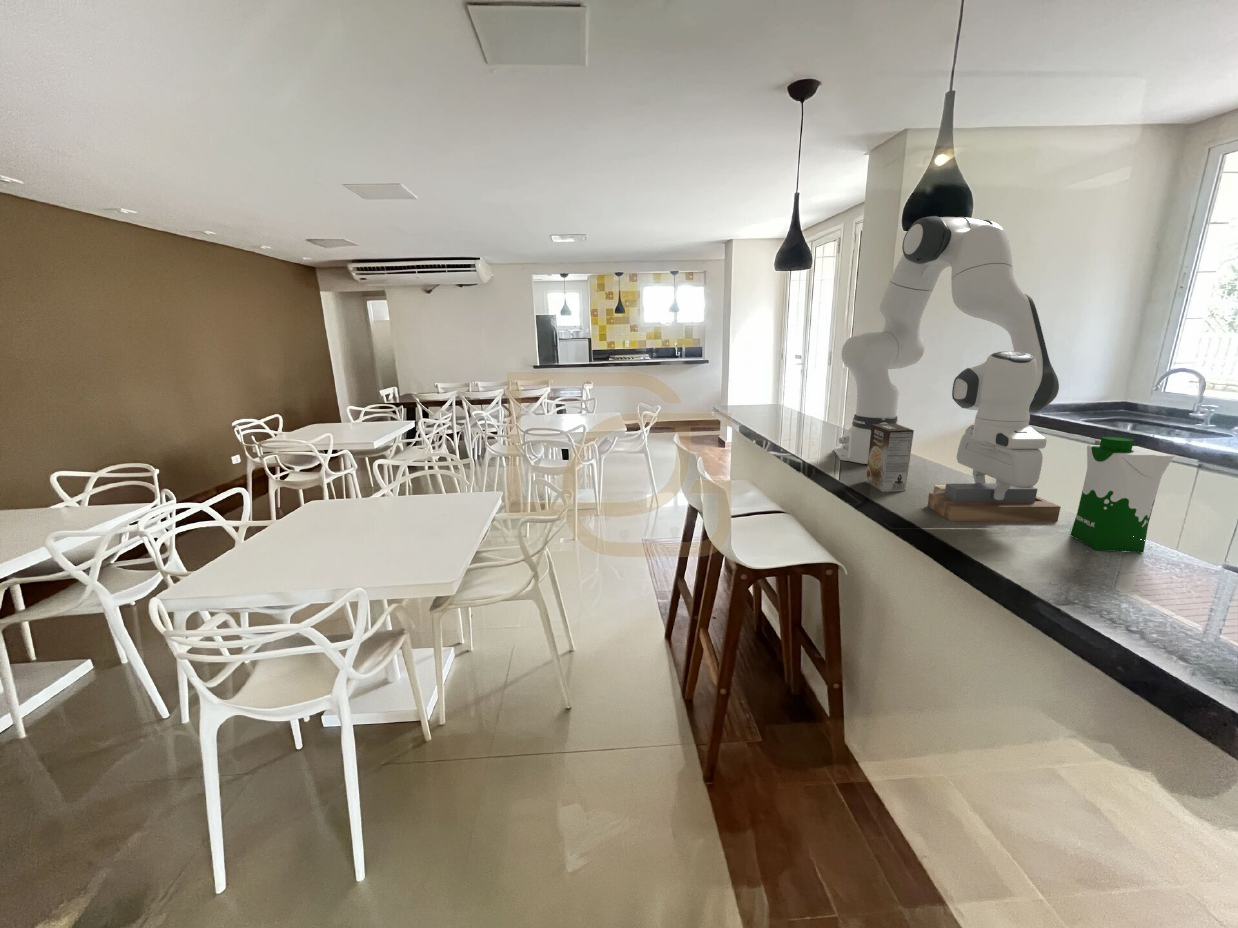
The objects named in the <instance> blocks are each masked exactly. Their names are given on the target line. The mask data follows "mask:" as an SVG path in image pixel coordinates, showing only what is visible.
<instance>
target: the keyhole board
mask: <svg viewBox="0 0 1238 928" xmlns="http://www.w3.org/2000/svg"><path fill="white" fill-rule="evenodd" d="M944 494H945V493H933V492H929V494H928V499H927V505H926V506H927V508H929V509H931V510H932V511H934V512H936V513H937V514H938V515H940V516H942V517H943V518H944V519H946V520H948V521H950V522H1058V520H1059V516H1060V513H1061V506H1060V505H1059V504H1056V503H1053V502H1051V501H1049V500H1046V499H1045V498H1042V497H1039V496H1037V495H1036V499H1035V502H1012V503H955V502H953V501H951V500H949V499H948V498H946V497H944Z"/></svg>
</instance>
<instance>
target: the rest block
mask: <svg viewBox="0 0 1238 928" xmlns="http://www.w3.org/2000/svg"><path fill="white" fill-rule="evenodd" d="M945 487H946V484H934V486H933V492H932V493H945Z"/></svg>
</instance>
